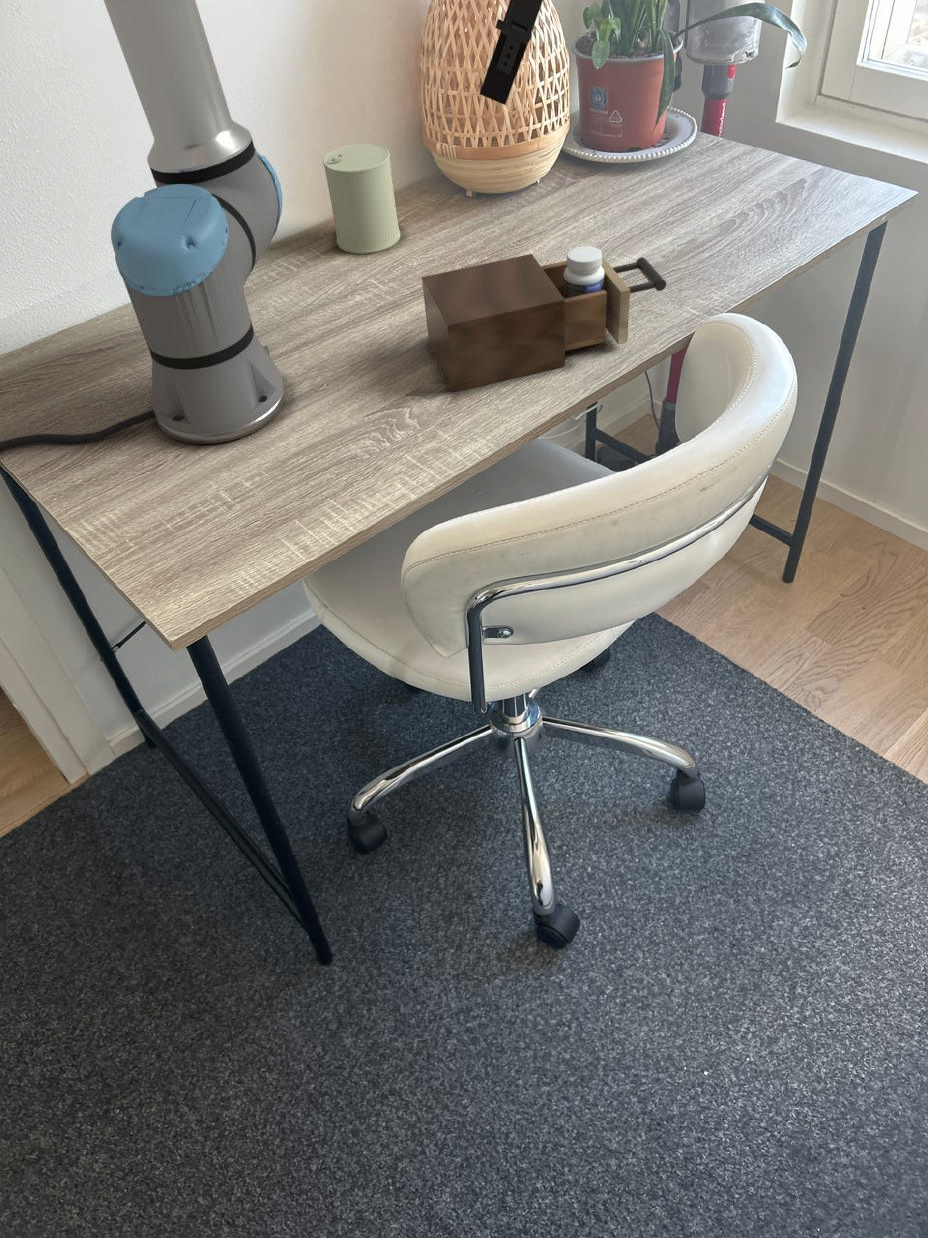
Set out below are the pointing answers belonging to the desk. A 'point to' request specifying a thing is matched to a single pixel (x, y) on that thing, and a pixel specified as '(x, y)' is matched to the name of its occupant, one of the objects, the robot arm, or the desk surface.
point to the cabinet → (495, 321)
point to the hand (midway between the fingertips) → (503, 64)
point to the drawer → (601, 303)
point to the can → (362, 197)
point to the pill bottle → (583, 272)
